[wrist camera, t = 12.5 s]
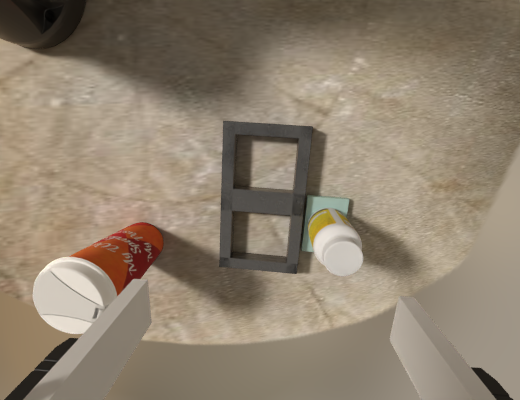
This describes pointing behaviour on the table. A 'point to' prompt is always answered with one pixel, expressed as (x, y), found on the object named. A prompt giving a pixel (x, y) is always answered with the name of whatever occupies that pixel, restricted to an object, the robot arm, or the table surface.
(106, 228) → the table surface
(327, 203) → the mat
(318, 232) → the supplement bottle
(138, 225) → the coffee cup
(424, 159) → the table surface
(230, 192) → the grey rectangular frame
